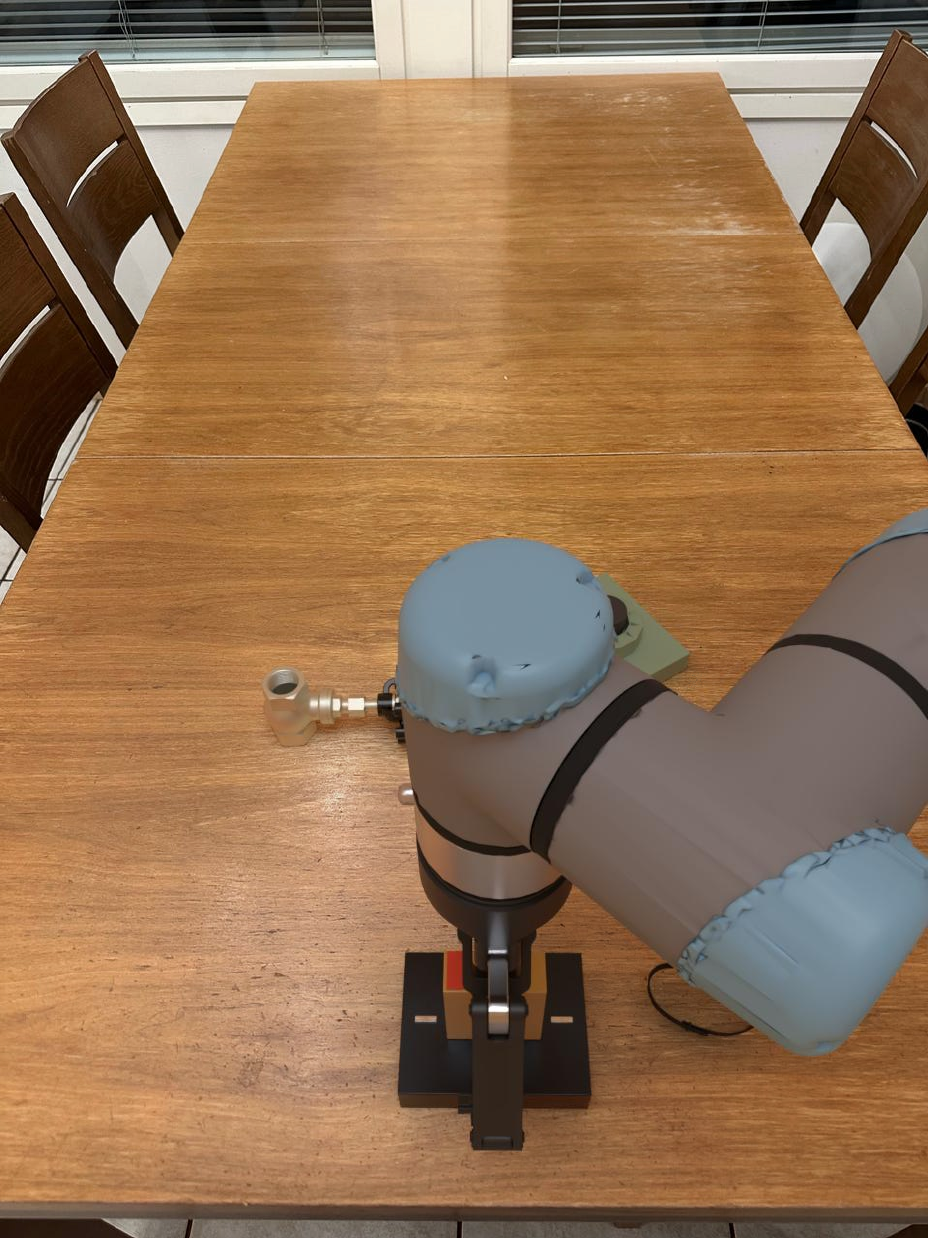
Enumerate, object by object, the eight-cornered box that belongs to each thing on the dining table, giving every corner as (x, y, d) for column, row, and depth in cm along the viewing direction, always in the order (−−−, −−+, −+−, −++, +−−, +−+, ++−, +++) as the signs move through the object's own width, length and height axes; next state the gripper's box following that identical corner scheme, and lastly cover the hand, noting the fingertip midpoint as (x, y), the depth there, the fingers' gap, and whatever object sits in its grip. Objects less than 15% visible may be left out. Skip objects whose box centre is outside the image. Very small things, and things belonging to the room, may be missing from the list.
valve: (266, 763, 78) (410, 760, 78) (251, 715, 73) (405, 712, 73) (275, 699, 83) (412, 696, 83) (262, 651, 78) (407, 648, 78)
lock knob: (539, 1000, 62) (545, 948, 56) (540, 1040, 60) (547, 991, 54) (447, 1000, 62) (443, 948, 56) (446, 1039, 60) (442, 991, 54)
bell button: (633, 627, 83) (635, 613, 82) (601, 644, 82) (602, 630, 80) (607, 602, 85) (610, 588, 84) (575, 618, 84) (577, 605, 82)
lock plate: (578, 970, 66) (581, 951, 64) (588, 1109, 60) (592, 1094, 58) (407, 969, 67) (404, 950, 64) (400, 1108, 61) (397, 1093, 58)
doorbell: (686, 668, 84) (694, 639, 81) (597, 718, 81) (602, 689, 78) (603, 587, 91) (607, 558, 88) (518, 630, 88) (519, 600, 85)
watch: (760, 988, 65) (772, 967, 63) (755, 1057, 62) (767, 1038, 60) (649, 958, 67) (656, 936, 64) (638, 1024, 64) (645, 1004, 61)
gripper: (425, 622, 51) (438, 821, 67) (399, 1130, 35) (425, 1235, 50) (564, 622, 51) (544, 821, 67) (604, 1131, 35) (566, 1237, 50)
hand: (493, 1000), depth 59 cm, fingers open, 13 cm apart
